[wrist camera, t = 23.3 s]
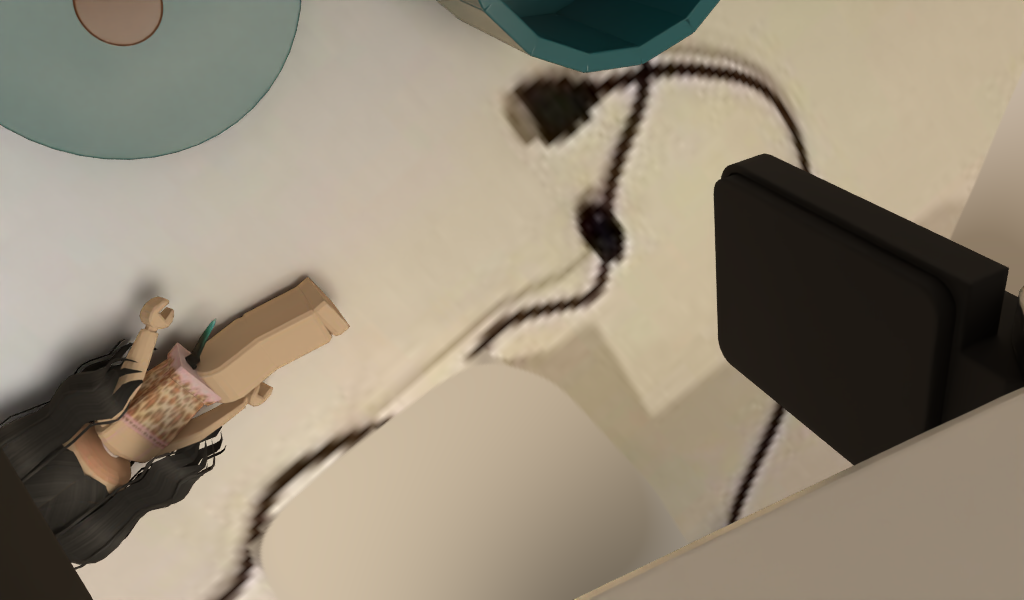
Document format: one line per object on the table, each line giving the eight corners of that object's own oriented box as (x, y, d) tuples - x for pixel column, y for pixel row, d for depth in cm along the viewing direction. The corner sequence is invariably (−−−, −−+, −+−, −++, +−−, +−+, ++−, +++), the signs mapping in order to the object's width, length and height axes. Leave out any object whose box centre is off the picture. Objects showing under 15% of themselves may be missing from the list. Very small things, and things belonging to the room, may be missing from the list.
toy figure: (237, 201, 36) (-57, 443, 35) (285, 270, 32) (-51, 551, 31) (336, 303, 41) (80, 518, 40) (389, 375, 37) (102, 621, 35)
